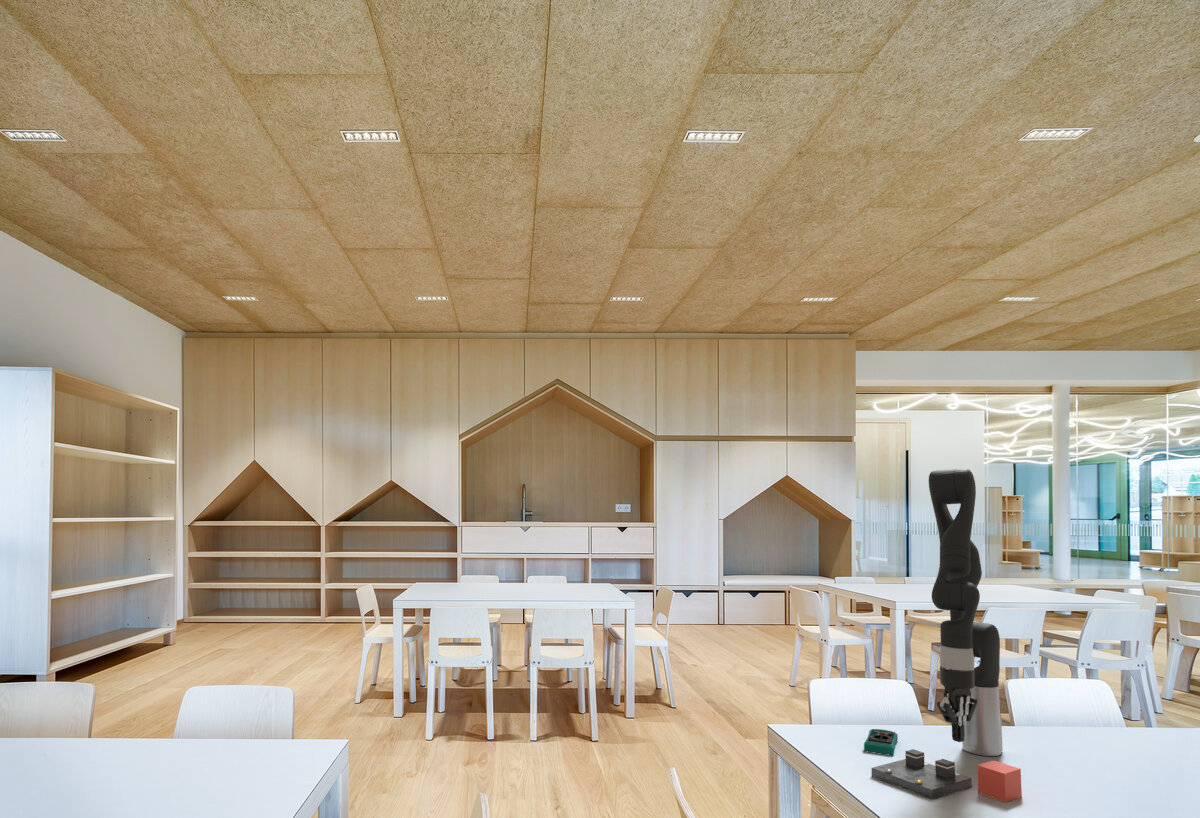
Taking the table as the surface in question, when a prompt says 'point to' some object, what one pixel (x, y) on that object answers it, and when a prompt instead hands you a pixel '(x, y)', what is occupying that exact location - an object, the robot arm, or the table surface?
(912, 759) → the breaker
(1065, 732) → the table surface
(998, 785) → the red cube
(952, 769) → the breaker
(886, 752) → the digital multimeter
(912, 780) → the breaker panel
